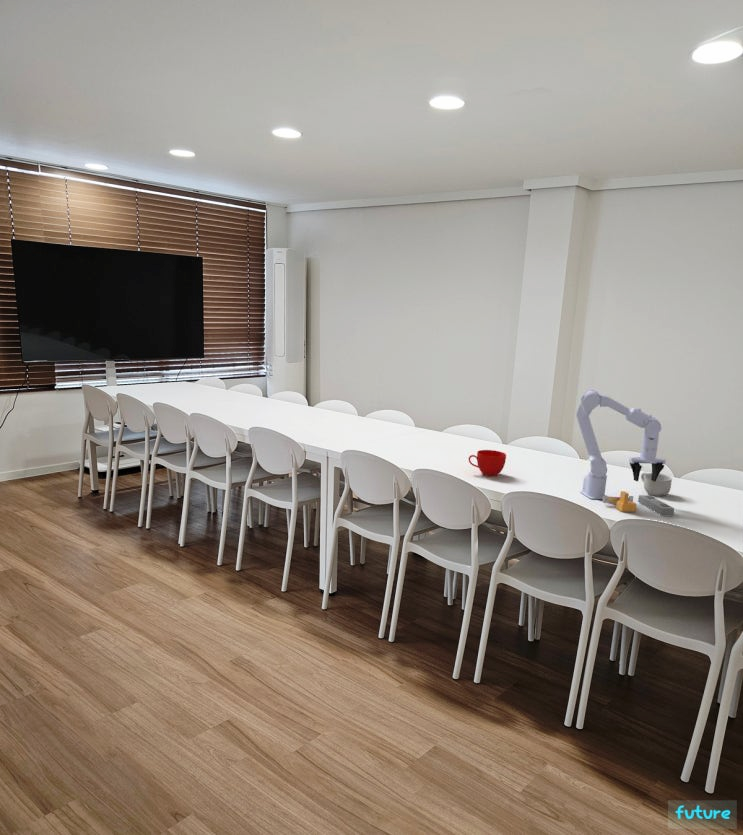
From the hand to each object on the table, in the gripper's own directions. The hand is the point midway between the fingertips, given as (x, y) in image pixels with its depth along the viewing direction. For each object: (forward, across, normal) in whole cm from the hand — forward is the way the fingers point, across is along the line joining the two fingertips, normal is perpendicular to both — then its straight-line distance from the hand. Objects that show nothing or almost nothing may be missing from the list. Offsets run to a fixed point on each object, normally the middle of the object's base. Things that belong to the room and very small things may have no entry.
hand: (644, 480), depth 248 cm
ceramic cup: (+10, -53, +39) cm, 66 cm away
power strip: (+9, +2, -7) cm, 12 cm away
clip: (+9, -13, -4) cm, 16 cm away
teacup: (+10, +14, +14) cm, 22 cm away
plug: (+9, -12, -9) cm, 18 cm away
